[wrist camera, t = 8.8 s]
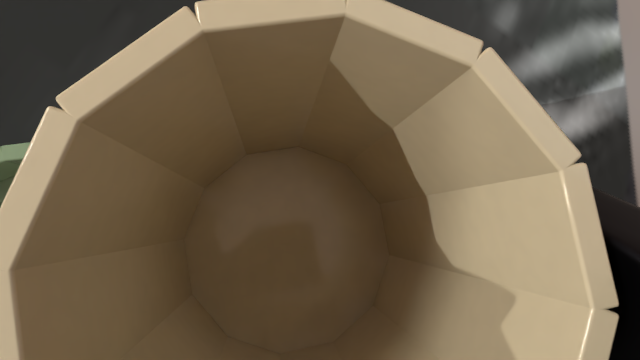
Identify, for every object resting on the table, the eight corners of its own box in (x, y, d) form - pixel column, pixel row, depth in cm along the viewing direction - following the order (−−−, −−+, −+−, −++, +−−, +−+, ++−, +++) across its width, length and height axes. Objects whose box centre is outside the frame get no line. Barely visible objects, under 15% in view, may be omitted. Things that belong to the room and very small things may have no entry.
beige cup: (370, 127, 15) (541, -37, 6) (410, 331, 14) (675, 535, 5) (163, 159, 14) (-57, 26, 5) (196, 379, 13) (22, 747, 4)
